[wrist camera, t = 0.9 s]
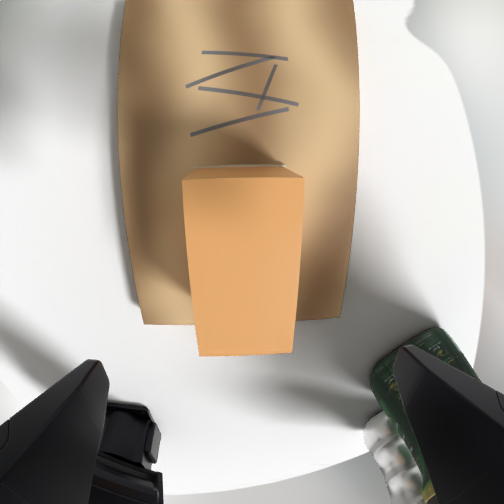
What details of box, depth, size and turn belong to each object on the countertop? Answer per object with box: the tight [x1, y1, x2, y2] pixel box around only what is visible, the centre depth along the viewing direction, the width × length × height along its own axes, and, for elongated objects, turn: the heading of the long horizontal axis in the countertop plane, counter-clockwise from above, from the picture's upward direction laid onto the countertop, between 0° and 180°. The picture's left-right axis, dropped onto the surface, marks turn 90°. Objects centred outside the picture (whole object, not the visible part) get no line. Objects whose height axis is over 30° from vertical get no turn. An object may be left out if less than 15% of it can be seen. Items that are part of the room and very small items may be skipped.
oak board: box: [118, 0, 360, 325], centre depth 16 cm, size 14×22×2 cm, turn 0°
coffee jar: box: [370, 328, 481, 504], centre depth 16 cm, size 10×8×19 cm
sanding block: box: [182, 164, 305, 356], centre depth 15 cm, size 5×9×5 cm, turn 0°
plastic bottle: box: [363, 411, 426, 504], centre depth 19 cm, size 6×7×20 cm
